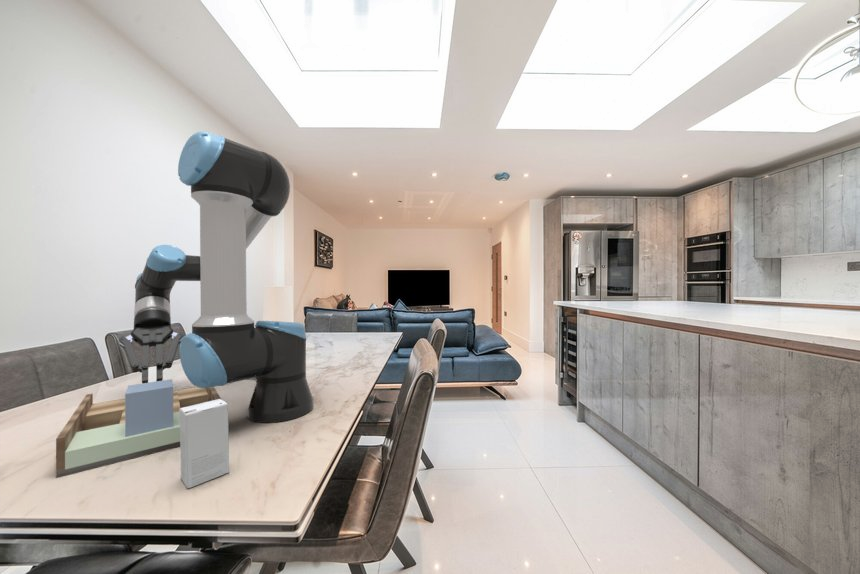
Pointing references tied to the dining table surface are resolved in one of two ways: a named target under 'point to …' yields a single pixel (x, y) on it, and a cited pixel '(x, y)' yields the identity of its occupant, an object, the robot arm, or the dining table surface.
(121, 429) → the pad
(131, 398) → the slate block
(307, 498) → the dining table surface
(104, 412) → the box
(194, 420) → the skincare box
